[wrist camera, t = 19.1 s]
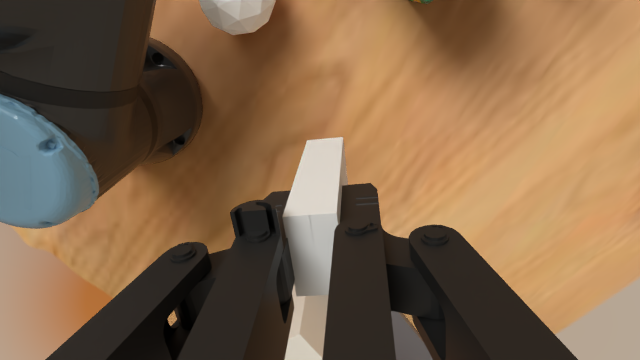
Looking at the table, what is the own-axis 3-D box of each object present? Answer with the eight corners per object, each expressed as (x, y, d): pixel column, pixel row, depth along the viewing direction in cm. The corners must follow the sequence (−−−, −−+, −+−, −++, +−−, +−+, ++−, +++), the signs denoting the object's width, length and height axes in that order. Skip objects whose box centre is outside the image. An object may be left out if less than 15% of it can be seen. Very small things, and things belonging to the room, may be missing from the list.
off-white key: (316, 322, 61) (307, 393, 51) (281, 285, 59) (265, 351, 48) (343, 307, 60) (341, 377, 49) (309, 269, 58) (299, 333, 47)
